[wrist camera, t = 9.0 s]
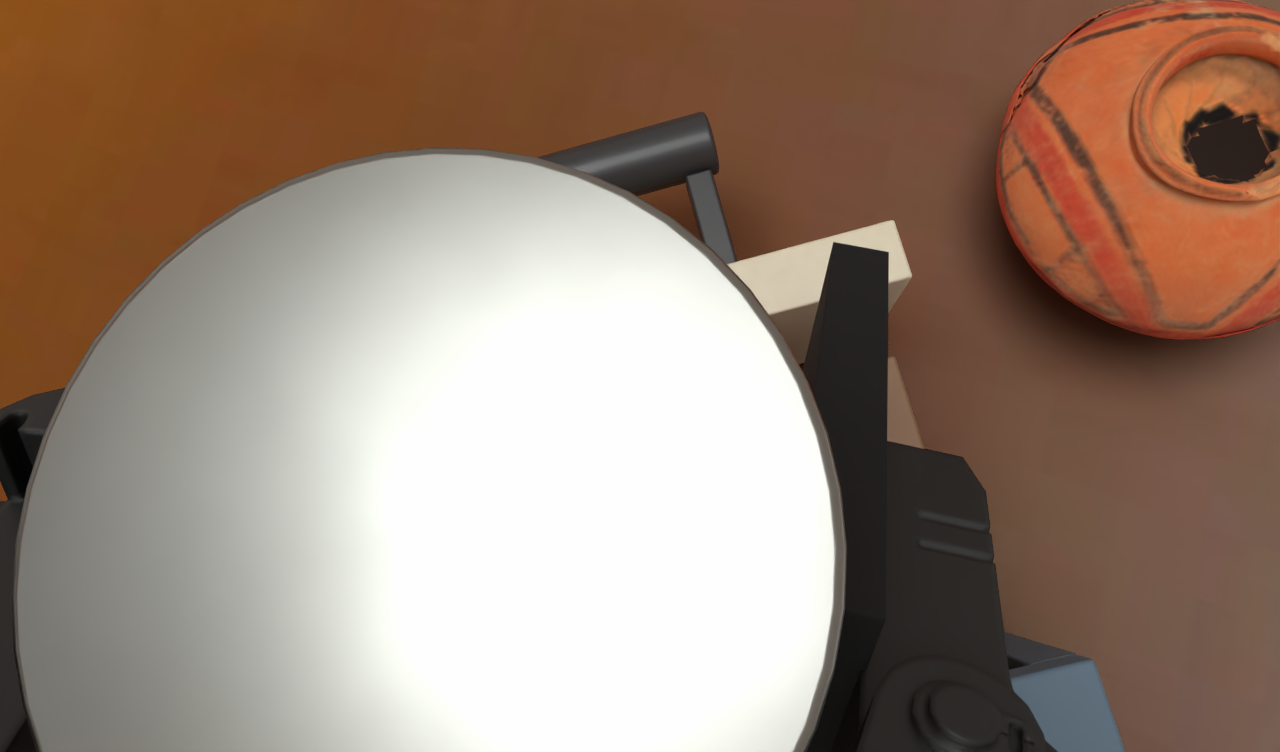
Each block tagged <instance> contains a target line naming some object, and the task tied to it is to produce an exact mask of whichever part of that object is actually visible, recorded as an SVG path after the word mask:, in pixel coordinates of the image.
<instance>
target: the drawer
mask: <svg viewBox="0 0 1280 752" xmlns="http://www.w3.org/2000/svg"><path fill="white" fill-rule="evenodd" d="M537 158H540V159H543V160H547V161H550V162H553V163H557V164H560V165H564V166H567V167H570V168H574V169H577V170H581V171H584V172H586V173H589V174H591V175H593V176H595V177H598V178H600V179H602V180H604V181H607V182H609V183H611V184H614V185H616V186H618V187H620V188H623V189H625V190H627V191H629V192H631V193H633V194H635V195H636V196H639V195H643V194H647V193H650V192H654V191H657V190H661V189H665V188H668V187H672V186H676V185H679V184H683V183H686V187H687V191H688V194H689V198H690V201H691V205H692V209H693V212H694V216H695V220H696V223H697V227H698V230H699V234H700V238H701V241H702V242H704V243H705V244H706V245H707V246H709V247H710V248H711V249H712V250H714V251H715V252H716V253H717V254H718V256H719V257H720V258H721V259H722V260H723V261H724V262H725V263H726V264H727V265H728V266H729V267H730V268H731V269H732V270H733V271H734V272H735V273H736V275H737V276H738V277H739V278H740V279H741V280H742V281H743V282H744V283H745V284H746V285H747V286H748V287H749V288H750V289H751V291H752V292H753V293H754V295H755V296H756V298H757V299H758V300H759V302H760V303H761V304H762V306H763V307H764V309H765V310H766V311H767V313H768V314H769V316H770V317H771V318H772V320H773V321H774V322H775V324H776V325H777V327H778V328H779V329H780V331H781V332H782V334H783V336H784V337H785V339H786V341H787V343H788V345H789V347H790V349H791V350H792V352H793V354H794V356H795V358H796V360H797V362H798V363H799V364H801V363H805V358H806V354H807V350H808V346H809V342H810V337H811V333H812V329H813V325H814V321H815V316H816V312H817V308H818V304H819V300H820V296H821V291H822V287H823V283H824V279H825V275H826V270H827V266H828V262H829V258H830V254H831V250H832V245H833V242H837V243H842V244H848V245H853V246H859V247H864V248H870V249H875V250H880V251H886V252H889V286H888V313H889V312H890V310H891V309H892V307H893V305H894V304H895V302H896V301H897V299H898V298H899V296H900V295H901V293H902V291H903V290H904V288H905V287H906V285H907V284H908V282H909V281H910V279H911V277H912V273H911V270H910V267H909V264H908V261H907V258H906V255H905V252H904V249H903V246H902V243H901V240H900V237H899V234H898V231H897V228H896V225H895V222H894V221H893V220H890V221H886V222H882V223H879V224H875V225H871V226H867V227H864V228H860V229H856V230H853V231H849V232H845V233H842V234H838V235H834V236H830V237H827V238H823V239H819V240H816V241H812V242H808V243H804V244H801V245H797V246H793V247H790V248H786V249H782V250H778V251H775V252H771V253H767V254H764V255H760V256H756V257H752V258H749V259H745V260H741V261H737V258H736V254H735V251H734V247H733V244H732V240H731V237H730V233H729V230H728V226H727V223H726V219H725V216H724V212H723V209H722V205H721V202H720V198H719V195H718V191H717V187H716V184H715V180H714V177H713V175H716V174H717V173H718V172H719V161H718V156H717V151H716V146H715V142H714V138H713V134H712V130H711V127H710V124H709V121H708V118H707V116H706V115H705V113H704V112H698V113H695V114H691V115H688V116H684V117H680V118H677V119H673V120H670V121H666V122H662V123H659V124H655V125H652V126H648V127H645V128H641V129H637V130H634V131H630V132H627V133H623V134H619V135H616V136H612V137H609V138H605V139H602V140H598V141H594V142H591V143H587V144H584V145H580V146H576V147H573V148H569V149H566V150H562V151H559V152H555V153H551V154H548V155H544V156H541V157H537ZM887 441H890V442H895V443H899V444H904V445H909V446H913V447H918V448H923V449H925V448H924V445H923V442H922V439H921V435H920V432H919V429H918V426H917V423H916V420H915V416H914V413H913V410H912V407H911V404H910V401H909V398H908V394H907V391H906V388H905V385H904V382H903V379H902V375H901V372H900V369H899V366H898V363H897V360H896V358H895V357H894V356H889V357H888V404H887Z"/></svg>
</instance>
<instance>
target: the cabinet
mask: <svg viewBox="0 0 1280 752" xmlns="http://www.w3.org/2000/svg"><path fill="white" fill-rule="evenodd" d="M1004 636H1005V644H1006V652H1007V660H1008V667H1009V675H1010V679H1011V683H1012V686H1013V690H1014V692H1015V693H1016V694H1017V695H1018V696H1019V697H1020V698H1021V699H1022V700H1023V701H1024V702H1025V703H1026V704H1027V705H1028V706H1029V708H1030V710H1031V712H1032V713H1033V715H1034V717H1035V719H1036V721H1037V722H1038V724H1039V726H1040V728H1041V730H1042V732H1043V733H1044V738H1045V741H1047V742H1048V743H1049V744H1050V745H1051V746H1052V747H1053V748H1055V749H1056V750H1057V751H1058V752H1125V749H1124V746H1123V743H1122V740H1121V738H1120V735H1119V732H1118V729H1117V726H1116V723H1115V720H1114V717H1113V714H1112V711H1111V708H1110V705H1109V702H1108V699H1107V697H1106V694H1105V691H1104V688H1103V685H1102V682H1101V679H1100V676H1099V673H1098V670H1097V667H1096V664H1095V662H1094V661H1093V660H1092V659H1089V658H1086V657H1083V656H1079V655H1076V654H1075V653H1072V652H1069V651H1065V650H1062V649H1059V648H1055V647H1052V646H1049V645H1045V644H1042V643H1039V642H1035V641H1032V640H1028V639H1025V638H1022V637H1018V636H1015V635H1012V634H1008V633H1005V632H1004Z"/></svg>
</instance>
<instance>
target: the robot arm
mask: <svg viewBox="0 0 1280 752" xmlns="http://www.w3.org/2000/svg"><path fill="white" fill-rule="evenodd" d="M888 286H889V252H886V251H880V250H875V249H870V248H864V247H859V246H853V245H848V244H842V243H837V242H833V245H832V250H831V254H830V258H829V262H828V266H827V270H826V275H825V279H824V283H823V287H822V291H821V296H820V300H819V304H818V308H817V312H816V316H815V321H814V325H813V329H812V333H811V337H810V342H809V346H808V350H807V354H806V358H805V363H804V367H803V373H804V375H805V376H806V378H807V380H808V382H809V385H810V388H811V390H812V393H813V396H814V398H815V401H816V403H817V406H818V409H819V411H820V414H821V417H822V419H823V422H824V425H825V427H826V430H827V433H828V436H829V440H830V445H831V449H832V453H833V457H834V462H835V466H836V470H837V474H838V479H839V483H840V487H841V493H842V503H843V513H844V523H845V533H846V543H847V564H846V596H845V612H844V618H843V624H842V630H841V636H840V643H839V649H838V655H837V661H836V667H835V671H834V674H833V678H832V681H831V684H830V688H829V691H828V694H827V698H826V701H825V704H824V707H823V711H822V714H821V717H820V721H819V724H818V727H817V730H816V732H815V734H814V736H813V738H812V741H811V743H810V745H809V747H808V749H807V752H1058V751H1057V750H1056V749H1055V748H1053V747H1052V746H1051V745H1050V744H1049V743H1048V742H1047V741H1045V738H1044V733H1043V732H1042V730H1041V728H1040V726H1039V724H1038V722H1037V721H1036V719H1035V717H1034V715H1033V713H1032V712H1031V710H1030V708H1029V706H1028V705H1027V704H1026V703H1025V702H1024V701H1023V700H1022V699H1021V698H1020V697H1019V696H1018V695H1017V694H1016V693H1015V692H1014V690H1013V686H1012V683H1011V679H1010V675H1009V667H1008V660H1007V652H1006V644H1005V636H1004V629H1003V621H1002V613H1001V606H1000V598H999V590H998V582H997V575H996V567H995V564H994V563H993V558H994V551H993V544H992V536H991V534H990V533H989V529H990V520H989V513H988V505H987V497H986V491H985V490H984V488H983V487H982V485H981V484H980V482H979V481H978V479H977V478H976V476H975V475H974V473H973V472H972V470H971V469H970V467H969V466H968V464H967V463H966V461H965V460H964V458H963V457H960V456H956V455H951V454H946V453H942V452H937V451H932V450H928V449H923V448H918V447H913V446H909V445H904V444H899V443H895V442H890V441H887V404H888ZM64 390H65V388H62V389H58V390H53V391H49V392H45V393H40V394H36V395H32V396H29V397H27V398H25V399H22V400H20V401H18V402H16V403H13V404H11V405H9V406H6V407H4V408H2V409H0V481H1V484H2V486H3V488H4V491H5V493H6V496H7V498H8V500H7V501H0V752H36V749H35V746H34V742H33V739H32V736H31V732H30V729H29V725H28V722H27V719H26V715H25V712H24V709H23V705H22V699H21V693H20V687H19V681H18V675H17V668H16V662H15V656H14V648H13V623H12V597H11V595H12V582H13V570H14V558H15V546H16V538H17V533H18V528H19V523H20V518H21V513H22V508H23V503H24V498H25V493H26V488H27V485H28V482H29V479H30V476H31V472H32V469H33V466H34V463H35V460H36V457H37V454H38V451H39V448H40V445H41V442H42V439H43V436H44V433H45V431H46V429H47V427H48V425H49V423H50V420H51V418H52V416H53V414H54V412H55V409H56V407H57V405H58V403H59V401H60V398H61V396H62V394H63V392H64Z"/></svg>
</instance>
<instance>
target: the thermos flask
mask: <svg viewBox="0 0 1280 752" xmlns="http://www.w3.org/2000/svg"><path fill="white" fill-rule="evenodd" d="M846 564H847V543H846V533H845V523H844V513H843V503H842V493H841V487H840V483H839V479H838V474H837V470H836V466H835V462H834V457H833V453H832V449H831V445H830V440H829V436H828V433H827V430H826V427H825V425H824V422H823V419H822V417H821V414H820V411H819V409H818V406H817V403H816V401H815V398H814V396H813V393H812V390H811V388H810V385H809V382H808V380H807V378H806V376H805V375H804V373H803V371H802V369H801V367H800V365H799V363H798V362H797V360H796V358H795V356H794V354H793V352H792V350H791V349H790V347H789V345H788V343H787V341H786V339H785V337H784V336H783V334H782V332H781V331H780V329H779V328H778V327H777V325H776V324H775V322H774V321H773V320H772V318H771V317H770V316H769V314H768V313H767V311H766V310H765V309H764V307H763V306H762V304H761V303H760V302H759V300H758V299H757V298H756V296H755V295H754V293H753V292H752V291H751V289H750V288H749V287H748V286H747V285H746V284H745V283H744V282H743V281H742V280H741V279H740V278H739V277H738V276H737V275H736V273H735V272H734V271H733V270H732V269H731V268H730V267H729V266H728V265H727V264H726V263H725V262H724V261H723V260H722V259H721V258H720V257H719V256H718V254H717V253H716V252H715V251H714V250H712V249H711V248H710V247H709V246H707V245H706V244H705V243H704V242H702V241H701V240H700V239H699V238H698V237H696V236H695V235H694V234H693V233H691V232H690V231H689V230H688V229H686V228H685V227H684V226H683V225H681V224H680V223H679V222H678V221H676V220H675V219H674V218H672V217H671V216H669V215H667V214H666V213H664V212H663V211H661V210H659V209H658V208H656V207H654V206H653V205H651V204H649V203H648V202H646V201H644V200H643V199H641V198H640V197H638V196H636V195H635V194H633V193H631V192H629V191H627V190H625V189H623V188H620V187H618V186H616V185H614V184H611V183H609V182H607V181H604V180H602V179H600V178H598V177H595V176H593V175H591V174H589V173H586V172H584V171H581V170H577V169H574V168H570V167H567V166H564V165H560V164H557V163H553V162H550V161H547V160H543V159H540V158H536V157H530V156H524V155H517V154H511V153H505V152H498V151H492V150H486V149H459V148H427V149H416V150H406V151H396V152H385V153H380V154H376V155H371V156H367V157H362V158H358V159H353V160H349V161H344V162H340V163H336V164H333V165H330V166H327V167H324V168H322V169H319V170H316V171H313V172H310V173H307V174H305V175H302V176H299V177H296V178H293V179H290V180H288V181H286V182H284V183H282V184H280V185H278V186H276V187H274V188H272V189H270V190H268V191H266V192H264V193H261V194H259V195H257V196H255V197H253V198H251V199H249V200H247V201H245V202H243V203H242V204H240V205H239V206H237V207H236V208H234V209H232V210H231V211H229V212H228V213H226V214H225V215H223V216H222V217H220V218H219V219H217V220H215V221H214V222H212V223H211V224H209V225H208V226H206V227H205V228H203V229H202V230H200V231H199V232H198V233H196V234H195V235H194V236H193V237H192V238H190V239H189V240H188V241H187V242H186V243H184V244H183V245H182V246H181V247H180V248H178V249H177V250H176V251H175V252H173V253H172V254H171V255H170V256H169V257H167V258H166V259H165V260H164V261H163V262H161V263H160V264H159V265H158V266H157V267H156V268H155V269H154V271H153V272H152V273H151V274H150V275H149V276H148V277H147V278H146V279H145V280H144V281H143V282H142V283H141V284H140V285H139V286H138V287H137V288H136V289H135V290H134V291H133V292H132V293H131V294H130V295H129V296H128V297H127V298H126V300H125V301H124V302H123V303H122V305H121V306H120V307H119V308H118V310H117V311H116V312H115V314H114V315H113V316H112V318H111V319H110V320H109V322H108V323H107V324H106V325H105V327H104V328H103V329H102V331H101V332H100V333H99V335H98V336H97V337H96V338H95V340H94V341H93V343H92V344H91V346H90V348H89V349H88V351H87V353H86V354H85V356H84V357H83V359H82V361H81V362H80V364H79V366H78V367H77V369H76V371H75V372H74V374H73V376H72V377H71V379H70V381H69V382H68V384H67V386H66V387H65V390H64V392H63V394H62V396H61V398H60V401H59V403H58V405H57V407H56V409H55V412H54V414H53V416H52V418H51V420H50V423H49V425H48V427H47V429H46V431H45V433H44V436H43V439H42V442H41V445H40V448H39V451H38V454H37V457H36V460H35V463H34V466H33V469H32V472H31V476H30V479H29V482H28V485H27V488H26V493H25V498H24V503H23V508H22V513H21V518H20V523H19V528H18V533H17V538H16V546H15V558H14V570H13V582H12V595H11V597H12V623H13V648H14V656H15V662H16V668H17V675H18V681H19V687H20V693H21V699H22V705H23V709H24V712H25V715H26V719H27V722H28V725H29V729H30V732H31V736H32V739H33V742H34V746H35V749H36V752H807V749H808V747H809V745H810V743H811V741H812V738H813V736H814V734H815V732H816V730H817V727H818V724H819V721H820V717H821V714H822V711H823V707H824V704H825V701H826V698H827V694H828V691H829V688H830V684H831V681H832V678H833V674H834V671H835V667H836V661H837V655H838V649H839V643H840V636H841V630H842V624H843V618H844V612H845V596H846Z"/></svg>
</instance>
